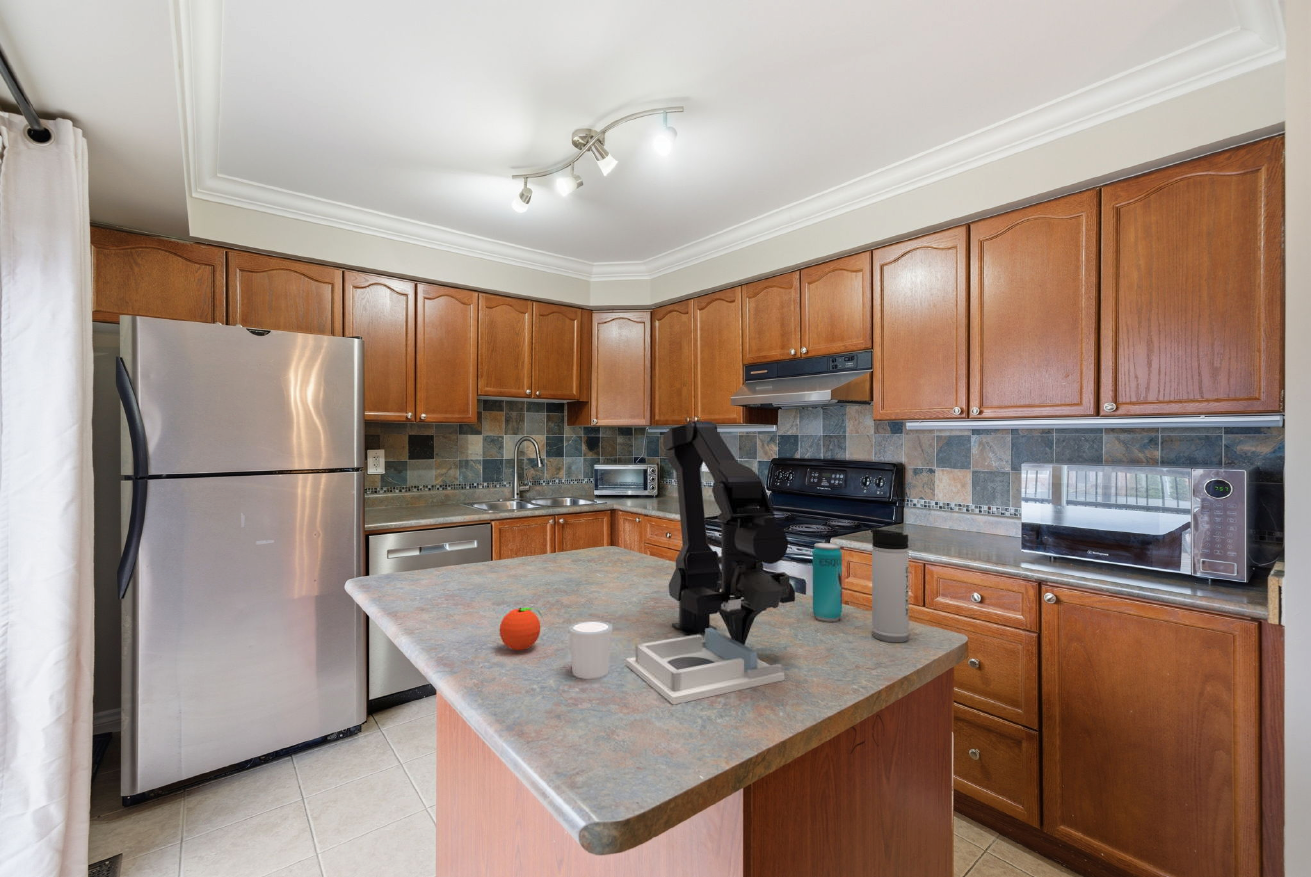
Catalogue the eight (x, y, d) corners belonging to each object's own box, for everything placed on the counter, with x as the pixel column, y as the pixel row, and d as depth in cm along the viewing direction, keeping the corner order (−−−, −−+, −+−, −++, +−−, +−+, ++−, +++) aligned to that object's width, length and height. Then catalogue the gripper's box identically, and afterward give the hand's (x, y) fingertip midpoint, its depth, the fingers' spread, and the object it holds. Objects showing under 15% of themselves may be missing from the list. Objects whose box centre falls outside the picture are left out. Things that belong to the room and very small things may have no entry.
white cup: (619, 666, 93) (619, 622, 93) (601, 683, 86) (601, 635, 86) (580, 661, 95) (580, 618, 95) (560, 676, 88) (560, 630, 89)
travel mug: (864, 632, 110) (864, 526, 110) (898, 631, 110) (897, 526, 111) (880, 643, 104) (880, 531, 104) (915, 642, 104) (915, 530, 105)
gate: (705, 647, 98) (705, 628, 98) (711, 646, 99) (711, 627, 99) (750, 674, 87) (750, 653, 87) (757, 673, 87) (757, 652, 87)
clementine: (531, 638, 106) (531, 599, 106) (553, 647, 101) (553, 606, 101) (491, 648, 101) (492, 607, 101) (512, 659, 96) (513, 616, 96)
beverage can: (843, 623, 115) (843, 547, 116) (813, 621, 116) (813, 546, 117) (840, 615, 121) (840, 543, 121) (811, 613, 122) (811, 542, 122)
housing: (625, 664, 93) (626, 643, 93) (725, 646, 102) (725, 626, 102) (673, 704, 79) (673, 678, 79) (784, 679, 87) (784, 656, 87)
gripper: (717, 566, 82) (717, 677, 82) (818, 555, 91) (818, 655, 90) (679, 553, 92) (679, 652, 92) (773, 544, 101) (773, 635, 100)
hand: (739, 649), depth 93 cm, fingers closed
